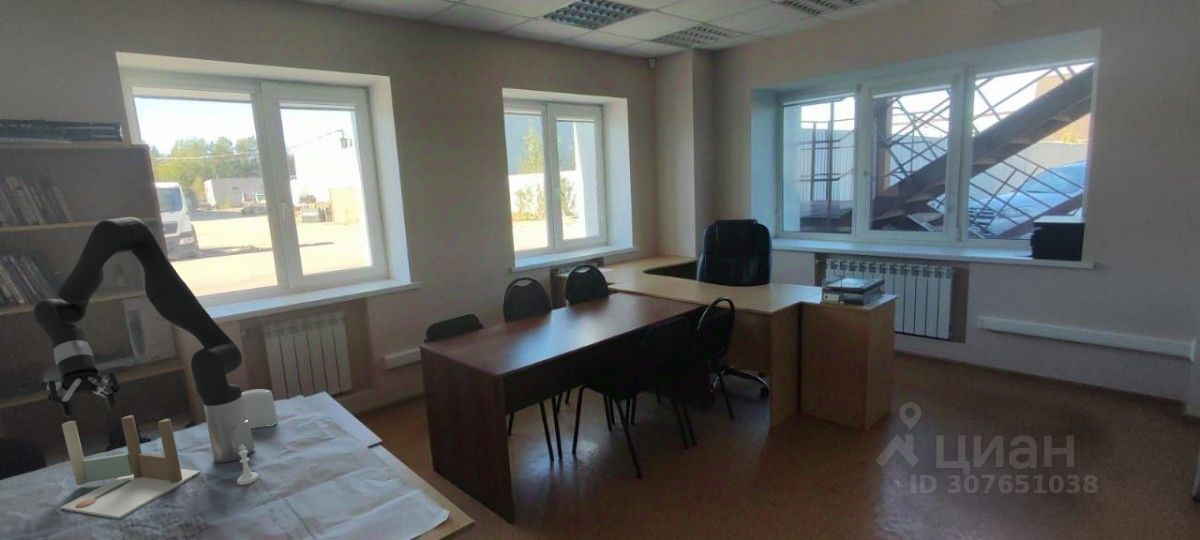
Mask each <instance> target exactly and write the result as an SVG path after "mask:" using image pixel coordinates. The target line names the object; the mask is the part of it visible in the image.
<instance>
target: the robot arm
mask: <svg viewBox="0 0 1200 540" xmlns="http://www.w3.org/2000/svg"><path fill="white" fill-rule="evenodd" d="M90 232H91V233H90V235H89V237H88V239H87V241H86V243H85V246H84V248H83V249H82V252H81V255H80V257H79V258H78V261H77V263H76V264H75V266H74V268H73V270H71V272H70V274H69V275H68V276H67V277H66V279H64V281H63V283H61V285H60V286H59V288H58V289H57V290H58V291H57V294H58V297H59V298H44V299H41V300H39V301H38V302H37V303H36V304H35V305H34V308H33V316H34V319H35V321H36V323H37V324H38V325H39V327H40V328H41V330H43V332H44V333H45V334H46V335H47V336H48V337H49V339H50V342H51V346H52V349H53V353H54V355H53V356H54V361H55V362H54V363H55V364H56V367H57V370H58V374H59V378H60V380H61V381H56V382H55V380H50V381H49V382H48V383H47V385H46V387H45V389H46V395H47V401H48V405H49V406H51V407H52V406H55V405H56V406H59V407H60V410H61V413H62V414H61V415H62V416H64V417H66V418H67V419H68V418H72V416H73V410H72V406H71V402H70V401H69V400H70V398H71V397H72V396H73V395H75V396H81V395H88V394H92V393H94V394H95V395H97V396H101V397H103V398H104V403H105V405H106V409H107V411H112V410H113V409H114V407H115V406H116V400H115V398H114V396H117V395H118V394H119V392H120V391H121V386H120V384H119V382H118V380H117V377H116V375H115V373H114V372H110V373H109V374H106V375H101V374H99V370H98V368H97V364H96V362H95V357H94V355H93V351H92V349H91V347H90V345H89V342H88V339H87V337H86V333H85V331H84V329H83V327H82V326H81V325H76V324H77V323H79V322H81V321H82V320H83V319H85V317H86V313H87V309H88V306H89V303H90V300H91V297H93V295H94V294H95V293H96V291H97V290H98V288H100V287H101V285H102V283H103V281H104V265H105V264H106V262H108V261H109V260H110V259H111V258H112V257H113V256H114V255H115V254H118V253H125V252H131V253H132V254H133V255H134V256H135V257H136V259H137V260H138V261H139V263H140V264H141V266H142V269H143V272H144V289H145V294H146V297H147V299H148V301H149V302H150V303H151V305H152V306H153V307H154V309H155V310H156V311H157V313H158V315H160V317H162V318H163V319H164V320H166V321H167V322H169V323H170V324H173V325H175V326H176V327H178V328H180V329H182V330H184V331H186V332H187V333H190V334H191V335H193V336H194V338H195V339H196V340H197V341H198V342H199V343H200V344H201V345H202V346H203V348H201V349H199V350H197V351H196V352H195V353H193V355H192V357H191V360H190V361H191V362H190V367H191V372H192V376H193V380H194V383H195V387H196V391H197V394H198V396H199V397H200V398H201V399H202V404H203V409H204V414H205V420H206V425H207V430H208V435H209V440H210V445H211V446H210V447H211V451H212V452H211V453H212V456H213V461H214V462H216V463H219V464H220V463H229V462H233V461H240V460H241V459H242V458H241V456H240V455H239V452H240V451H242V450H241V449H239V447H241V445H243V446H244V447H246V449H244V450H247V451H248V453H249V452H251V451H252V450H253V449H255V444H254V438H253V433H252V429H251V426H250V421H249V420H246V416H245V410H244V405H243V399H242V393H243V392H242V389H241V386H240V385H238V384H234V383H233V384H232V383H231V384H230V383H229V382H228V378H227V375H228V374H230V373H231V372H233V371H236V370H237V369H239V368H240V366H241V365H242V363H243V355H242V352H241V350H240V349H239V347H238V346H237V345H236V344H235V342H234V341H233V340H232V339H231V338H230V337H229V336H228V335H227V333H226V332H225V331H223V329H222V328H221V327H220V326H219V325H218V324H217V323H216V322H215V320H214V319H213V318H212V316H211V315H210V314H209V313H208V311H207V310H206V309H205V308H204V307H203V305H202V304H201V303H200V302H199V300H198V299H197V297H196V295H195V293H193V291H192V290H191V289H190V287H189V286H188V285H187V284H186V282H185V281H184V280H183V278H182V277H181V276H180V274H179V273H178V272H177V270H176V269H175V268H174V266H173V265H172V264H171V261H170V260H169V259H168V257H167V256H166V255H165V253H164V251H163V249H162V247H161V246H160V244H159V243H158V241H157V239H156V238H155V235H154V234H153V232H152V231H151V229H150V228H149V227H148V226H147V224H146V223H145V222H144V221H142V220H141V219H140V218H138V217H134V216H127V217H118V218H107V219H104V220H101V221H99V222H98V223H96V225H94V227H93V229H92V230H91V231H90ZM102 381H103V382H104V383H105V384H104V383H102ZM106 384H108V387H109V388H108V387H107V385H106ZM60 388H62V389H63V390H64V391H66V393H65V394H64V395H63V397H59V396H58V390H59V389H60ZM252 452H253V451H252ZM252 452H251V453H252ZM248 453H247V454H248ZM249 454H250V453H249ZM249 454H248V455H249Z"/></svg>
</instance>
